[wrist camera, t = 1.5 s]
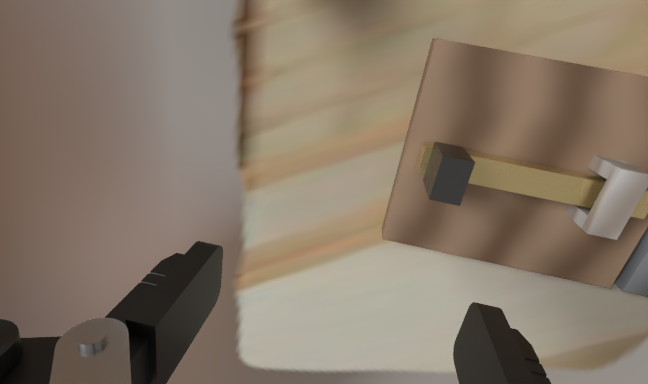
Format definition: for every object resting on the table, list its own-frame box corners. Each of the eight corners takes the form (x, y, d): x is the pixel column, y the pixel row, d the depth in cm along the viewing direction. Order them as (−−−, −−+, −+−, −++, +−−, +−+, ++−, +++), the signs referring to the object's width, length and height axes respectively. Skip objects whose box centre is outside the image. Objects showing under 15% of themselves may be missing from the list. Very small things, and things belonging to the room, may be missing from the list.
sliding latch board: (382, 227, 33) (382, 259, 28) (432, 38, 26) (444, 38, 22) (679, 292, 31) (733, 337, 26) (811, 107, 25) (914, 123, 20)
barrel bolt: (414, 172, 28) (421, 198, 23) (425, 134, 27) (434, 154, 22) (626, 215, 27) (677, 251, 22) (648, 179, 26) (706, 208, 21)
